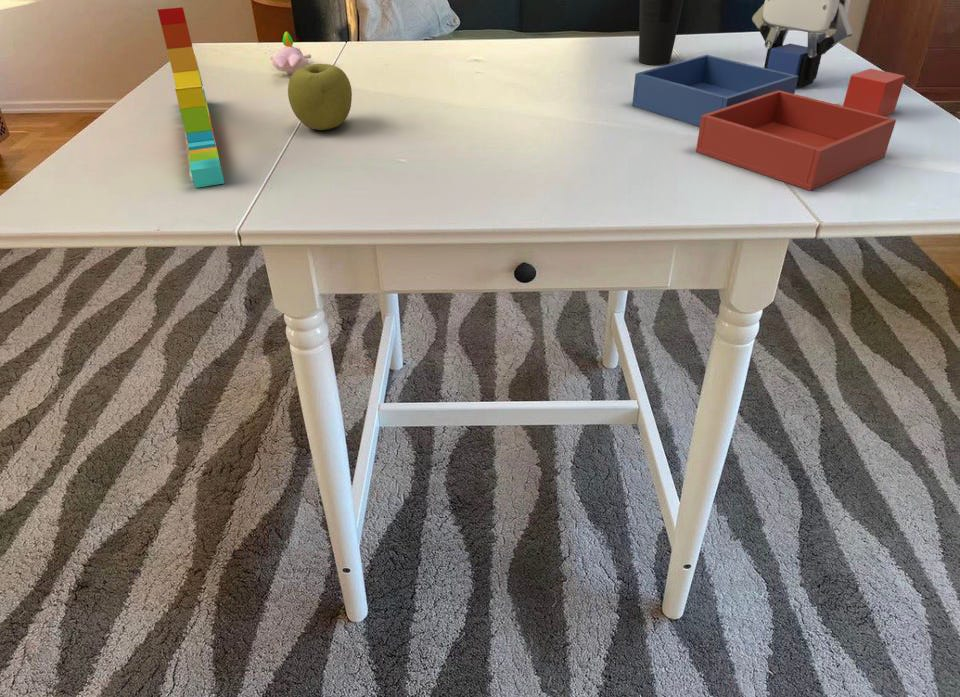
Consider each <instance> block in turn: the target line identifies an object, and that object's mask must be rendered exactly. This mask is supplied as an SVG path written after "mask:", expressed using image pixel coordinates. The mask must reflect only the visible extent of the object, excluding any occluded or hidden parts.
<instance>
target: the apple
mask: <svg viewBox="0 0 960 697" xmlns="http://www.w3.org/2000/svg"><path fill="white" fill-rule="evenodd" d="M352 91H353V90H352V85H351V82H350V79H349V78H348V76H347V74H346V73H345V72H344V71H343V70H342V69H341V68H340V67H338V66H336V65H333V64H327V63H313V64H307V65H306V66H304V67H302V68H299V69H298V70H296V71H295V72H294V73H293V74H292V75H291V76H290V78H289V80H288V84H287V96H288V102H289V105H290V108H291V109H292V112H293V114H294V115H295V116H296V118H297V119H298V120H299V122H301V123H302V125H304V126H305V127H307V128H309V129H312V130H316V131H327V130H328V131H329V130H331V129H334V128H337V127H338V126H340V125H341V124H343V122H345V121H346V120H347V118H348V117H349V114H350V112H351V107H352V100H353V99H352V97H353V92H352Z"/></svg>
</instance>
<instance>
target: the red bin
mask: <svg viewBox="0 0 960 697" xmlns="http://www.w3.org/2000/svg"><path fill="white" fill-rule="evenodd" d="M896 123H897V119H896V118H892V117H888V116H880V115H876V114H872V113H868V112H864V111H860V110H856V109H852V108H848V107H844V106H843V105H841V104H836V103H831V102H828V101H825V100H819V99H816V98H812V97H807V96H804V95H800V94H796V93H795V94H792V93H788V92H784V91H780V90H777V91H774V92H771V93H768V94H765V95H762V96H759V97H756V98H753V99H750V100H747V101H744V102H741V103H738V104H735V105H732V106H729V107H726V108H723V109H719V110H716V111H713V112H710V113H707V114H704V115H702V116H701V122H700V127H699V130H698V136H697V142H696V143H697V144H696V148H695V152H696V153H699V154H702V155H704V156H708V157H709V158H710V157H711V158H712V159H713V158H714V159H716V160H719V161H722V162H725V163H728V164H731V165H734V166H737V167H740V168H743V169H745V170H749V171H752V172H754V173H758V174H760V175H763V176H766V177H769V178H772V179H775V180H777V181H780V182H784V183H786V184H789V185H792V186H795V187H798V188H801V189H804V190H807V191H810V192H811V191H814V190H816V189H819V188H820V187H822V186H825V185H826V184H828V183H831V182H833V181H835V180H838V179H840V178H841V177H844V176H846V175H848V174H850V173H853V172H855V171H857V170H859V169H861V168H864V167H866V166H868V165H870V164H872V163H875V162H877V161H879V160H880V159H883V158H885V157H886V154H887V150H888V147H889V144H890V140H891V138H892V135H893V132H894V128H895V125H896Z"/></svg>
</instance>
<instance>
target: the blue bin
mask: <svg viewBox="0 0 960 697" xmlns="http://www.w3.org/2000/svg"><path fill="white" fill-rule="evenodd" d="M798 77H799V76H797V75H793V74H788V73H784V72H780V71H775V70H771V69H767V68H764V67H762V66H757V65H754V64H749V63H746V62H745V63H744V62H740V61H735V60H732V59H727V58H722V57H718V56H715V55H709V54H703V55H699V56H695V57H692V58H688V59H685V60H684V59H683V60H681V61H677V62H673V63H670V64H669V63H668V64H664V65H661V66H658V67H655V68H650V69H647V70H643V71H640V72H635V76H634V84H633V93H632V102H631V106H633V107H636V108H639V109H641V110H645V111H649V112H650V113H651V112H652V113H655V114H658V115H662V116H664V117H668V118H671V119H674V120H677V121H681V122H684V123H687V124H690V125H692V126H695V127H699V128H700V122H701V116H702V115H704V114H707V113H710V112H713V111H716V110H719V109H723V108H726V107H729V106H732V105H735V104H738V103H741V102H744V101H747V100H750V99H753V98H756V97H759V96H762V95H765V94H768V93H771V92H774V91H777V90H780V91H784V92H788V93H792V94H796V89H797V87H796V85H797V81H798Z"/></svg>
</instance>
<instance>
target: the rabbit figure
mask: <svg viewBox="0 0 960 697" xmlns="http://www.w3.org/2000/svg"><path fill="white" fill-rule="evenodd" d="M282 44H283V46H284V47H282V48H281V49H280V50H278V52H277V53H276V55H275V56H271V57H269V58H270V61H272V65H273V67H274V68H275V69H277V70H279V71H281V72H285V73H286V74H287V75H291V76H292V74H293V73H294V72H295V71H296V70H298V69H299V68H302V67H304V66H308V59H310V58H312V55H311V54H310V53H309V54H308V53H307V54H306V55H304V54H303V52H302V51H301V49H300V48H298V47H296V46H293V45H294V41H293V38H292V36H291V35H290V32H289V31H285V32H284V33H283V37H282Z"/></svg>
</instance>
